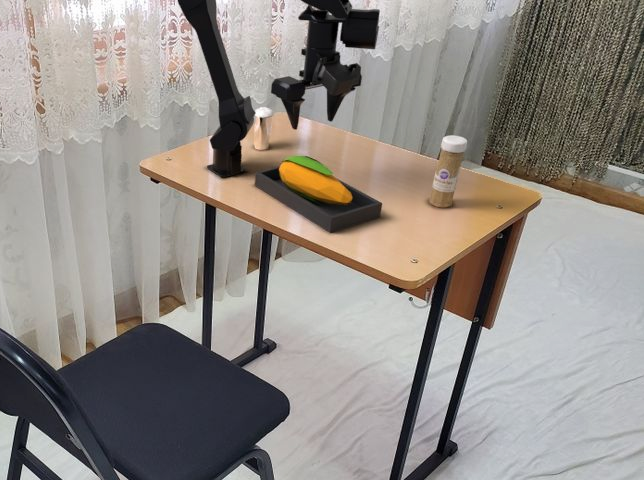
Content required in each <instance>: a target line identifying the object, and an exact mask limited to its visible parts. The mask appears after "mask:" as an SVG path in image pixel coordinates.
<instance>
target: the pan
mask: <svg viewBox="0 0 644 480" xmlns="http://www.w3.org/2000/svg"><path fill="white" fill-rule="evenodd" d="M280 166H281V165H279V166H275V167H271V168H267V169H264V170H263V169H262V170H259V171H256V172H255V173H254V174H255V175H254V187H256V188H258V189H259V190H261V191H263V192H264V193H266V194H267V195H269V196H270V197H272V198H274V199H275V200H276V201H279V202H280V203H282V204H283V205H285V206H287V207H288V208H290V209H291V210H293V211H295V212H296V213H298V214H299V215H301V216H302V217H304V218H306V219H307V220H309V221H311V222H312V223H314V225H317V226H319V227H320V228H322V229H323V230H325V231H327V232H328V233H333V232H336V231H339V230H343V229H346V228H349V227H353V226H355V225H360V224H363V223H365V222H368V221H372V220H375V219H378V218H380V217H381V213H382V208H383V202H381V201H379V200H378V199H375V198H374V197H372V196H370V195H368V194H367V193H364V192H362V191H360V190H359V189H357V188H356V187H353V186H351V185H350V184H348V183H347V182H344V181H342V180H340V179H338V178H336V177H335V178H336V179H337V180H338V181H339V182H340V183H341V184H342V185H343V186H344V187H345V188H346V189H347V190H348V191H349V192H351V195H352V197H353V198H352V201H351V203H349V204H347V205H340V204H329V203H326V202H322V201H319V200H316V199H313V198H311V197H309V196H307V195H305V196H307V197H309V198H311V199H313V200H315V201H316V202H317V203H316V202H314V201H311V200H309V199H306V198H304V197H302V196H300V195H298V194H297V193H295V192H293V191H292V190H291V189H289V188H288V187H287V186H286V185H285V184H284V183H283V182H282V180H281V178H280V176H279V168H280ZM295 191H296V190H295ZM297 192H298V191H297ZM299 193H300V192H299ZM301 194H302V193H301ZM303 195H304V194H303ZM318 203H319V204H318Z"/></svg>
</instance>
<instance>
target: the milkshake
mask: <svg viewBox="0 0 644 480" xmlns="http://www.w3.org/2000/svg"><path fill="white" fill-rule="evenodd" d="M254 111H255V112H256V114H255V115H254V123H253V127H254V129H253V131H254V133H253V136H254V139H253V140H254V148H255V149H256V150H259V151H265V150H268V149H269V147H270V146H269V145H270V138H271V132H272V126H273V121H274V114H275V113H274V111H273V110H272V109H271V108H269V107H264V106H260V107H259V108H256V109H255V110H254Z"/></svg>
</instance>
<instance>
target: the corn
mask: <svg viewBox="0 0 644 480" xmlns="http://www.w3.org/2000/svg"><path fill="white" fill-rule="evenodd" d="M279 166H280V168H279V176H280V178H281V180H282V182H283V183H284V184H285V185H286V186H287V187H288V188H289V189H291V190H292V191H293V192H295V193H297V194H298V195H300V196H302V197H304V198H306V199H309V200H311V201H314V202H316V201H315V200H313V199H316V200H319V201H322V202H326V203H329V204H340V205H347V204H349V203H351V201H352V198H353V197H352V195H351V192H349V191H348V190H347V189H346V188H345V187H344V186H343V185H342V184H341V183H340V182H339V181H338V180H337V179H338V178H337V179H336V177H335V176H334V175H333V174H334V173H333V171H332V170H331V169H330V168H328V167H327V166H326V165H324V163H322V162H320V161H318V160H317V159H315V158H312V157H309V156H307V155H292V156H290V157H289V156H288V157H286V158H284V159H283V160H282V161H281V164H280V165H279ZM295 190H296V191H295ZM297 191H298V192H297ZM299 192H300V193H299ZM301 193H302V194H301ZM303 194H304V195H303ZM305 195H307V196H309V197H311V198H313V199H311V198H309V197H307V196H305ZM316 203H317V202H316ZM318 204H319V203H318Z"/></svg>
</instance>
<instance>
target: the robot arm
mask: <svg viewBox="0 0 644 480" xmlns="http://www.w3.org/2000/svg"><path fill="white" fill-rule="evenodd" d="M300 2H302V3H304V4H306V5H307V6H306V8H305V9H304V10H303V11H302V12H300V14H299V15H298V17H297V19H298V20H299V21H306V22H307V21H308V23H307V35H306V45H305V47H304V48H301V52H300V55H301V56H303V57H304V64H303V65H304V66H303V69H301V70H299V73H298V76H299V77H301V78H302V79H300V80H299V79H297V78H295V77H292V76H290V75H288V76H283V77H278V78H274V80H273V81H272V82H271V85H270V87H271V88H270V94H272V95H274V96H275V97H276V98H278V99H280V100H281V103H282V104H283V107H284V109H285V112H286V115H287V117H288V119H289V122H290V123H289V124H290V126H291V128H292V130H294V131H296V130H297V131H298V126H299V122H300V113H301V105H302V104H303V103H304V102H305V101H306V99H305V98H304V95H305V94H306V90H311V89H316V88H321V87H324V88H325V89H326V116H327V121H329V122H333V121H334V119H335V117H336V116H337V115H336V114H337V112H338V110H339V108H340V107H341V104H342V102H343V101H344V99H345V98H346V97H347V95H349V94H350V93H352V92H354V91H355V90H356V89H357V87H361V85H362V79H363V75H362V73H361V72H362V66H361V65H360V64H359V63H358V62H355V63H350V64H349V65H348V64H342V63H341V52H340V51H338V50H337V43H338V34H339V35H340V36H339V42H341V43H342V44H341V45H344V48H348V49H349V48H350V49H362V50H363V49H364V50H376V47H377V41H378V36H379V31H380V25H379V23H380V13H381V10H380V9H379V8H378V9H376V8H372V9H359V8H353V5H352V3H351V1H350V0H300ZM177 4H178V6H179V8H180V10H181V12H182V14H183V16H184V18H185V20H186V21H187V23H189V24H190V26H191V27H192V28H193V30H194V31H195V33H196V37H197V39H198V42H199V45H200V48H201V51H202V55H203V57H204V61H205V63H206V66H207V70H208V72H209V76H210V79H211V82H212V85H213V88H214V91H215V94H216V97H217V100H218V101H217V103H218V122H219V126H218V128H217V129H216V131H214V133H213V135H212V136H211V137H210V139H209V142H210V146H211V149H213V151H212V163H211V164H207V165H206V169H208V170H210V172H212V173H214V174H216V175H217V176H219V177H220V178H227V177H231V176H235V175H239V174H242V173H243V174H244V173H246V172H247V168H245V167H244V166H242V157H243V154H242V150H243V149H242V148H243V146H242V143H241V142H242V141H243V140H244V139H246V137H247V135H248V134H249V132H250V130H251V129H252V127H253V126H254V115H255V114H256V112H255V110H254V108H253V105H252V99H251V98H252V97H251V96H250V95H248V96H246V97H244V96H243V95H242V94H241V93H240V91H239V89H238V85H237V83H236V79H235V75H234V74H233V69H232V66H231V64H230V60H229V57H228V54H227V51H226V48H225V44H224V41H223V38H222V34H221V31H220V28H219V25H218V17H217V16H218V14H217V13H218V12H217V11H218V10H217V9H218V8H217V7H218V6H217V0H177ZM340 24H341V28H340V33H339V27H340Z"/></svg>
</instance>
